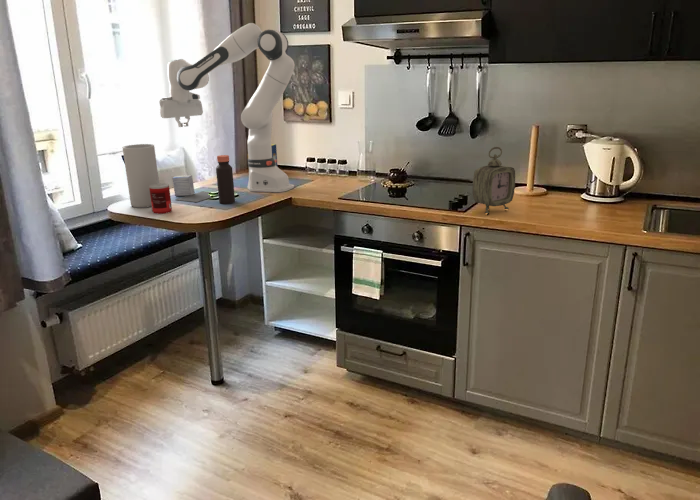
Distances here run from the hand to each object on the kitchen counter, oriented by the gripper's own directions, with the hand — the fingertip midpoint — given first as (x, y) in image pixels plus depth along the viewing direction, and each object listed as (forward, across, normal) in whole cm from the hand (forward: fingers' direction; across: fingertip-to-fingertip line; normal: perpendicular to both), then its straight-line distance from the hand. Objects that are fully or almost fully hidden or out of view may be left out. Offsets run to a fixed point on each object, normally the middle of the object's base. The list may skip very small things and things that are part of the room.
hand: (183, 126), depth 268 cm
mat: (+29, -8, -22) cm, 38 cm away
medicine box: (+29, -11, -14) cm, 34 cm away
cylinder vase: (+29, -31, -18) cm, 46 cm away
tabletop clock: (+30, +54, -134) cm, 148 cm away
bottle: (+29, -5, -41) cm, 51 cm away
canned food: (+29, -32, -35) cm, 56 cm away
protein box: (+29, +44, 0) cm, 53 cm away
